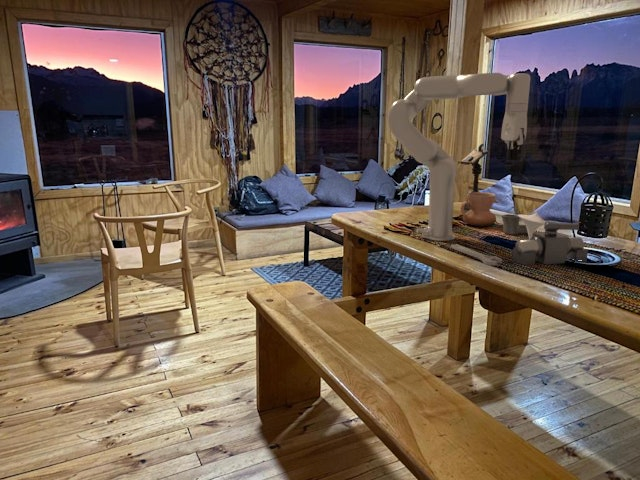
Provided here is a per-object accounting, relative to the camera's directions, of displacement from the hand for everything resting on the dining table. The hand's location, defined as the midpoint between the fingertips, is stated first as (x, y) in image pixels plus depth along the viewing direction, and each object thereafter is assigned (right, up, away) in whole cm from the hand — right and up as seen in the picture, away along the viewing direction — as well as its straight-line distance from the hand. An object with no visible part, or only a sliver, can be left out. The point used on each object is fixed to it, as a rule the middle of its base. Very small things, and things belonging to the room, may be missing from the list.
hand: (512, 159), depth 181 cm
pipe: (+10, -28, +21) cm, 36 cm away
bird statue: (+5, -17, +65) cm, 67 cm away
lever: (+12, -27, -19) cm, 35 cm away
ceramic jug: (0, -23, +38) cm, 45 cm away
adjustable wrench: (-16, -36, -9) cm, 41 cm away
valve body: (+6, -37, -16) cm, 41 cm away
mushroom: (+10, -31, +9) cm, 34 cm away
